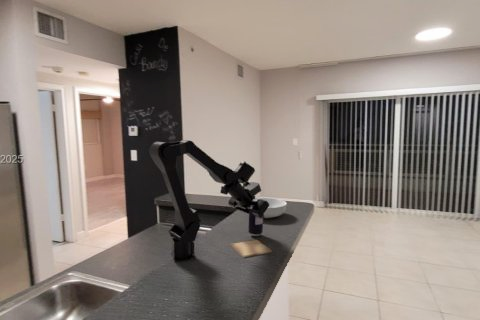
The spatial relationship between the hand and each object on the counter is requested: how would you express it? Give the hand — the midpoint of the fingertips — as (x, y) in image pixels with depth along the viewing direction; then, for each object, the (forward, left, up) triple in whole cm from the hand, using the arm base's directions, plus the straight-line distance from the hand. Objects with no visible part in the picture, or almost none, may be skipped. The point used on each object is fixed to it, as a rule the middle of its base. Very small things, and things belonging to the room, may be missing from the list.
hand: (258, 216), depth 119 cm
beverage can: (-1, 0, -7) cm, 7 cm away
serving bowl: (+17, +23, -8) cm, 29 cm away
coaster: (-9, -11, -8) cm, 17 cm away
